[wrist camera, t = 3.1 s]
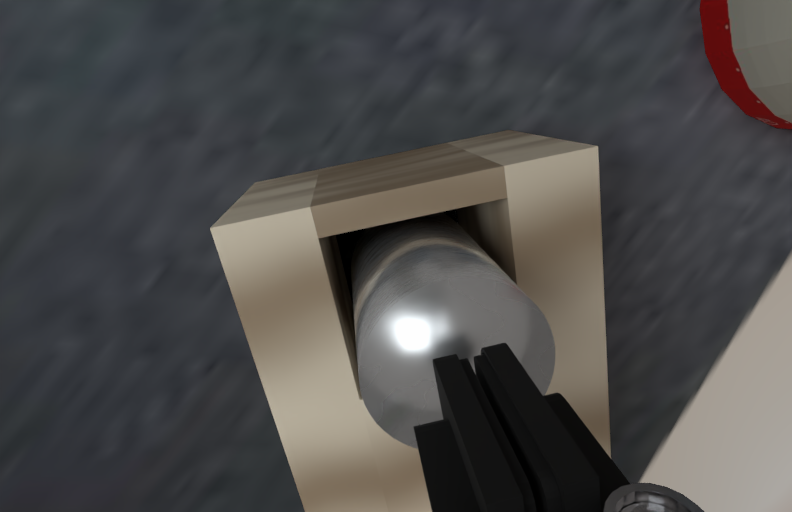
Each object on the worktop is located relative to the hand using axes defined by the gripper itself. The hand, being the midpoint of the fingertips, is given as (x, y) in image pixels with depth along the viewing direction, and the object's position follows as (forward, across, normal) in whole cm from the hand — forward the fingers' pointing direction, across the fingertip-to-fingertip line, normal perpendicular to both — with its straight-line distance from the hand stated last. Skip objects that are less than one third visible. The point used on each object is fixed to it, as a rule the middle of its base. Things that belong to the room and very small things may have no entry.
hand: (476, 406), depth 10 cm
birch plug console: (+13, 0, +6) cm, 15 cm away
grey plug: (+9, 0, 0) cm, 9 cm away
